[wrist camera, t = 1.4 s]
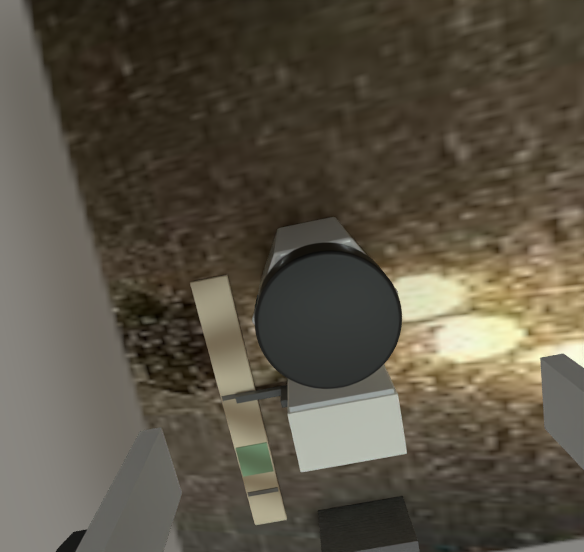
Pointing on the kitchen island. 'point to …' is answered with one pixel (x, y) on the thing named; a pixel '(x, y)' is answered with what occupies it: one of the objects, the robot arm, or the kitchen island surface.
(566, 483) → the kitchen island surface
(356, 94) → the kitchen island surface
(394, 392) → the carriage
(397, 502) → the two-tone gray brick
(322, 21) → the kitchen island surface
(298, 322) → the jar
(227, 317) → the strip
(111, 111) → the kitchen island surface
